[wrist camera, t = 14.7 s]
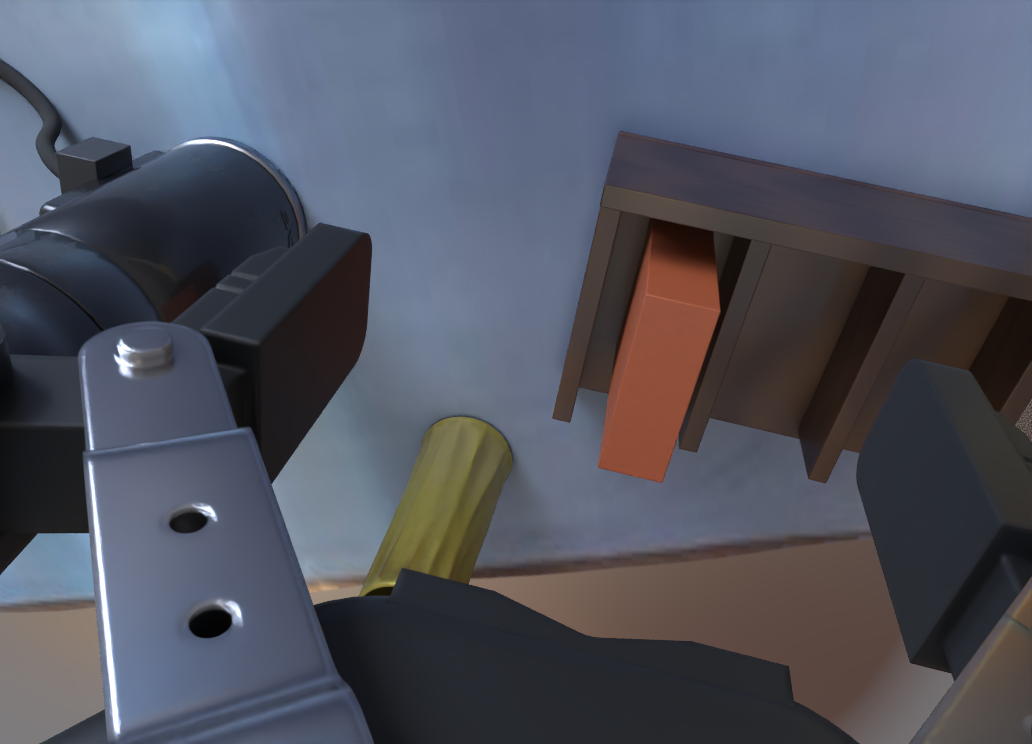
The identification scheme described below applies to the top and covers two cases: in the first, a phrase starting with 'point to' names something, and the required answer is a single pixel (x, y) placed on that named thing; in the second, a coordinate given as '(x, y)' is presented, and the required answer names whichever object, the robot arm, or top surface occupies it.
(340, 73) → the top surface
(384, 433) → the top surface
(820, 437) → the rack
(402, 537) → the vase
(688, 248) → the terracotta rectangular prism
